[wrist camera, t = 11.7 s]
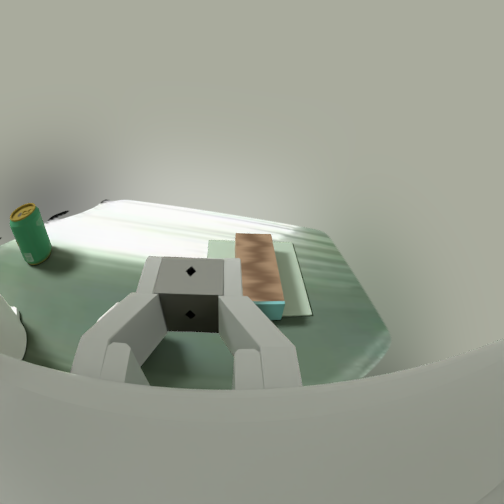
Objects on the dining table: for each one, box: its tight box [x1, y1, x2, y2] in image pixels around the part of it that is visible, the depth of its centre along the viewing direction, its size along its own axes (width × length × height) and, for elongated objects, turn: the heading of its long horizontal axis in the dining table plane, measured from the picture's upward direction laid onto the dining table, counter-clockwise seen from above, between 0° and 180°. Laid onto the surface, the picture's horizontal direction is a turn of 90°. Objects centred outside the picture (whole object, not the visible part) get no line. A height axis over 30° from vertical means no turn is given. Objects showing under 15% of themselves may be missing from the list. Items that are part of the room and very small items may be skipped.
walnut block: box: [235, 233, 285, 320], centre depth 50 cm, size 7×4×18 cm
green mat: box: [207, 240, 312, 317], centre depth 52 cm, size 18×20×1 cm
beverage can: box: [10, 203, 51, 265], centre depth 47 cm, size 8×8×12 cm
